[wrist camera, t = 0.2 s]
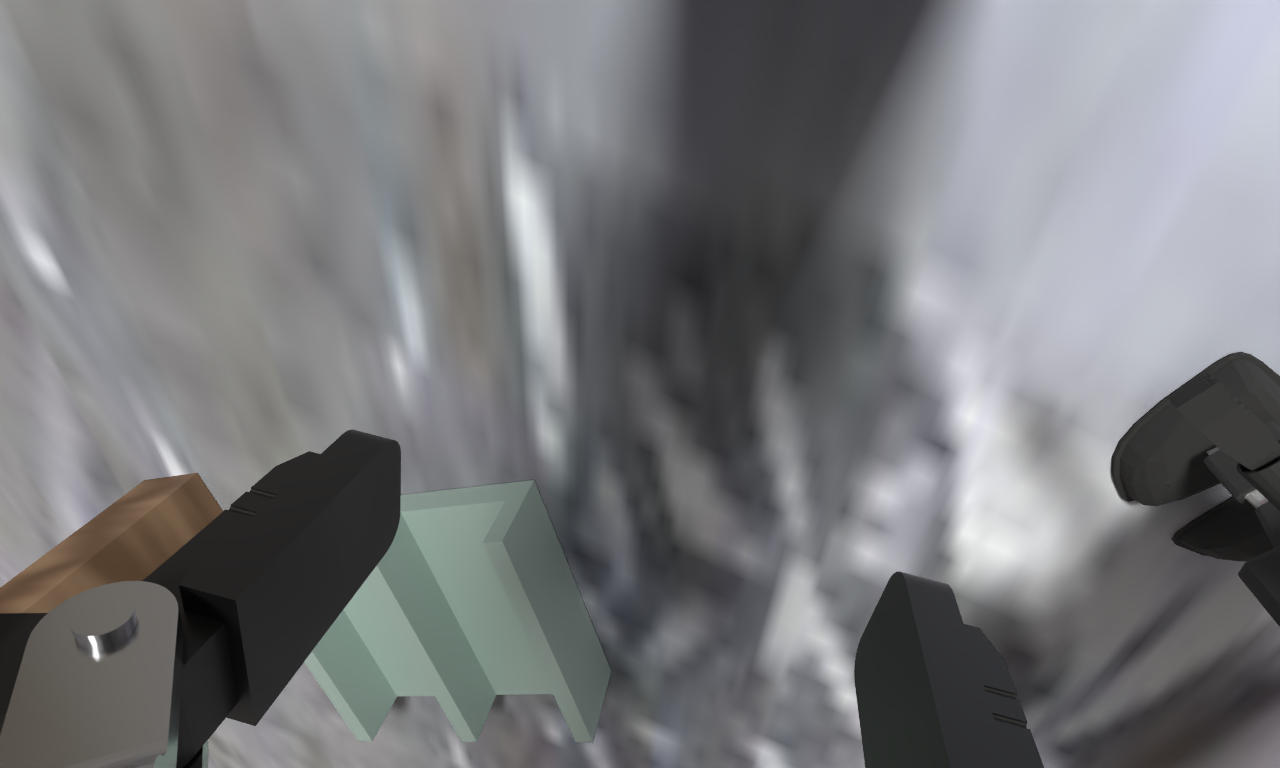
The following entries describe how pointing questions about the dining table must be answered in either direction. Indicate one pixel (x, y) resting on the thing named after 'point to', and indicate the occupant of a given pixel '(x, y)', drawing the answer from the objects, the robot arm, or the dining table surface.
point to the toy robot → (1216, 466)
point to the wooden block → (116, 544)
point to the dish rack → (466, 617)
